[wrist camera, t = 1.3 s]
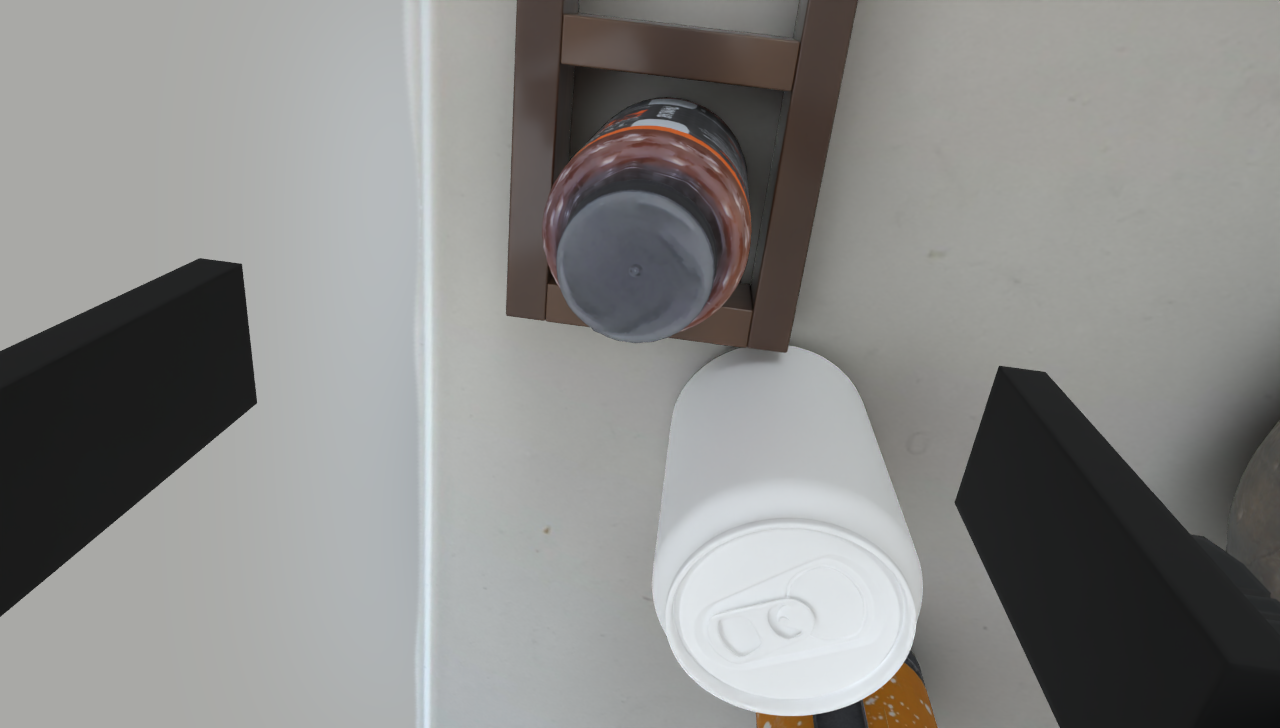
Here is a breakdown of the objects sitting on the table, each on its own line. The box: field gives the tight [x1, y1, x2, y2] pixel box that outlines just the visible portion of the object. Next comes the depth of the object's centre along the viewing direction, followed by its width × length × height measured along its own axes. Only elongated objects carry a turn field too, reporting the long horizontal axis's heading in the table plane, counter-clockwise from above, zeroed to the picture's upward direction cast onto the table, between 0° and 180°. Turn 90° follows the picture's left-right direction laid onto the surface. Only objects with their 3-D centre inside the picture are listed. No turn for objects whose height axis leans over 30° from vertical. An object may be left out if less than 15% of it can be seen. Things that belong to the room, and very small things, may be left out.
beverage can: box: [652, 346, 923, 716], centre depth 28 cm, size 8×8×12 cm
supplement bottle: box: [542, 97, 751, 343], centre depth 24 cm, size 6×6×11 cm
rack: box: [506, 0, 858, 353], centre depth 26 cm, size 10×20×3 cm, turn 174°
